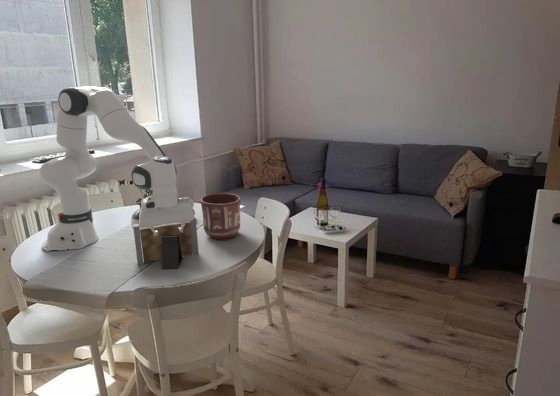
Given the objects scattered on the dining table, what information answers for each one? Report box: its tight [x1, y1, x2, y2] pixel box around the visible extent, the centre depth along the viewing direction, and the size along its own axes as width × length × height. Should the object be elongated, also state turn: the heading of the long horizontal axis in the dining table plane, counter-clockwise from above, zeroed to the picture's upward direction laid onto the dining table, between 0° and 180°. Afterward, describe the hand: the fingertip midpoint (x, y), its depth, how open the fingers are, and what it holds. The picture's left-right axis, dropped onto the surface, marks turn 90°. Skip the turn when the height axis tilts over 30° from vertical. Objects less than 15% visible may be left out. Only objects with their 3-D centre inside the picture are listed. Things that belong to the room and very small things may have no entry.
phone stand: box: [161, 235, 184, 270], centre depth 165 cm, size 9×6×12 cm, turn 178°
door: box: [139, 221, 193, 264], centre depth 169 cm, size 19×3×14 cm, turn 112°
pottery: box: [200, 192, 241, 241], centre depth 192 cm, size 18×18×18 cm
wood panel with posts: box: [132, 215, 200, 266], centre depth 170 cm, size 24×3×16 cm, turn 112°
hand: (168, 234), depth 163 cm, fingers open, 8 cm apart
